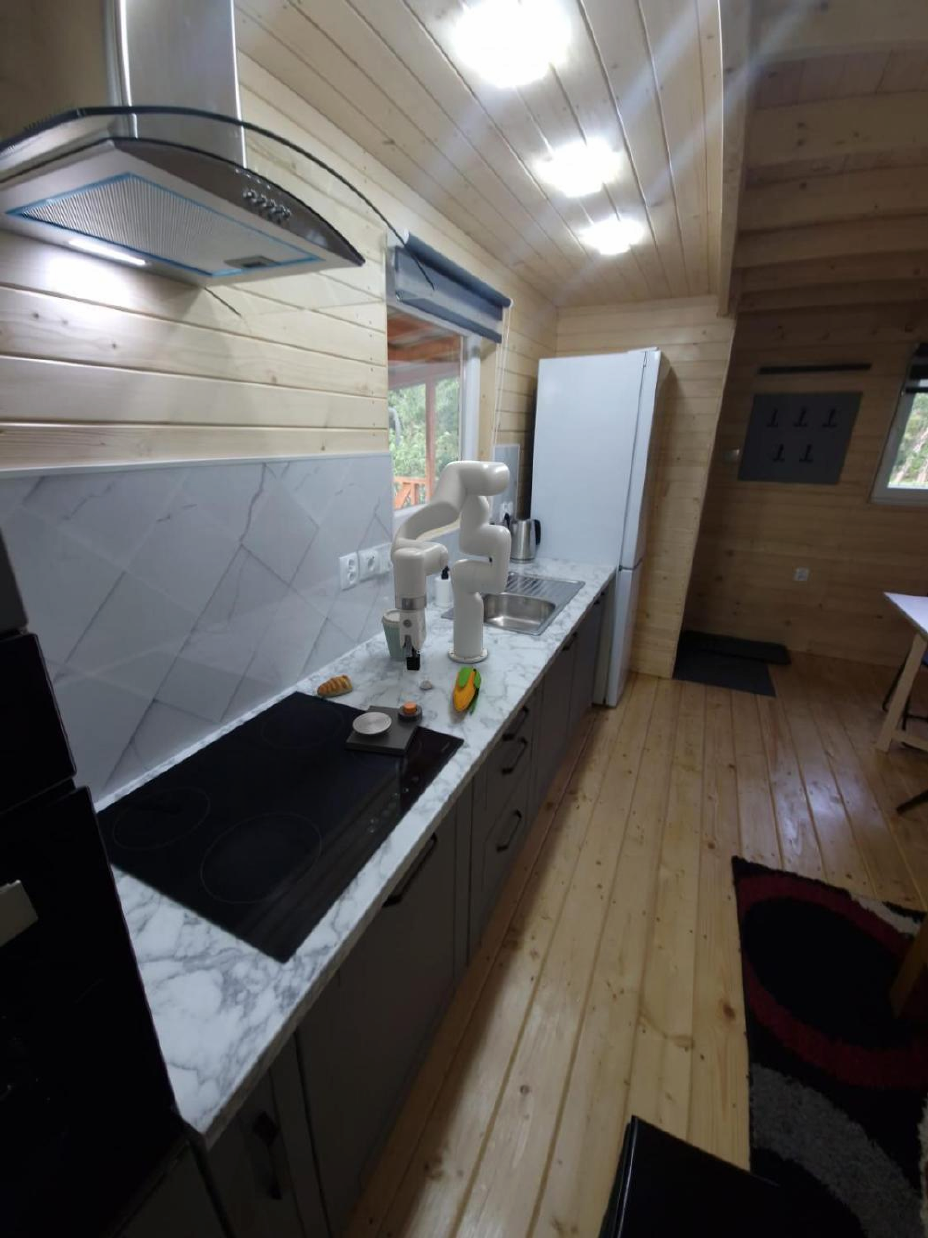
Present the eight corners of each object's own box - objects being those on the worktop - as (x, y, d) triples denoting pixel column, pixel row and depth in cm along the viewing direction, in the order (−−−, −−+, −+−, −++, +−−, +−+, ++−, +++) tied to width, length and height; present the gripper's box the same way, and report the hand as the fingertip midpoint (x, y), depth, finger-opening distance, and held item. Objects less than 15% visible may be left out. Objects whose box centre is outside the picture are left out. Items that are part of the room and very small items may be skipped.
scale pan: (361, 712, 122) (361, 710, 122) (396, 716, 121) (396, 714, 121) (346, 733, 114) (346, 731, 114) (384, 738, 113) (383, 735, 112)
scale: (371, 710, 130) (370, 698, 128) (424, 716, 127) (424, 704, 126) (346, 748, 115) (345, 736, 113) (406, 756, 112) (405, 743, 111)
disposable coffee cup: (421, 651, 162) (420, 609, 157) (410, 666, 153) (408, 621, 147) (391, 648, 165) (389, 605, 159) (378, 662, 155) (375, 618, 149)
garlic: (433, 684, 143) (433, 676, 142) (429, 691, 139) (429, 683, 138) (422, 683, 143) (422, 675, 142) (418, 690, 140) (418, 681, 139)
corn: (482, 659, 140) (474, 695, 122) (483, 683, 143) (476, 722, 125) (456, 659, 141) (445, 695, 123) (458, 682, 144) (447, 721, 126)
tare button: (406, 707, 125) (405, 701, 125) (417, 708, 125) (417, 702, 124) (402, 713, 123) (402, 707, 122) (414, 715, 122) (414, 708, 122)
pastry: (323, 701, 133) (322, 689, 132) (313, 692, 138) (311, 679, 137) (355, 691, 139) (353, 678, 137) (344, 681, 144) (343, 670, 142)
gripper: (421, 613, 110) (423, 685, 117) (431, 590, 124) (432, 656, 131) (387, 611, 111) (392, 683, 118) (401, 589, 124) (404, 655, 131)
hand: (413, 668), depth 124 cm, fingers closed
